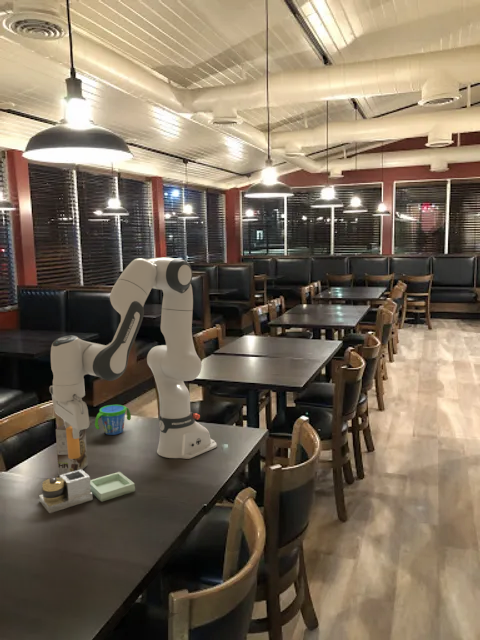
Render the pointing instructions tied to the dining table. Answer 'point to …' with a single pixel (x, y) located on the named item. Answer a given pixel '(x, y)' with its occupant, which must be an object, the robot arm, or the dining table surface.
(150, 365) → the robot arm
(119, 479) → the tray
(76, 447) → the pin
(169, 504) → the dining table surface
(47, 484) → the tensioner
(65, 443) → the coffee box
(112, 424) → the snack cup
